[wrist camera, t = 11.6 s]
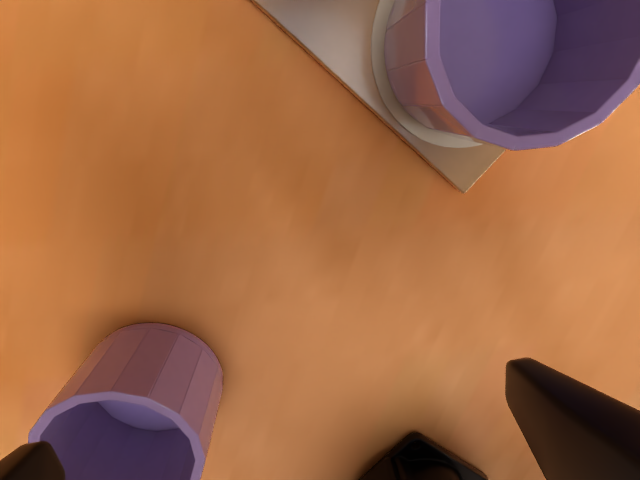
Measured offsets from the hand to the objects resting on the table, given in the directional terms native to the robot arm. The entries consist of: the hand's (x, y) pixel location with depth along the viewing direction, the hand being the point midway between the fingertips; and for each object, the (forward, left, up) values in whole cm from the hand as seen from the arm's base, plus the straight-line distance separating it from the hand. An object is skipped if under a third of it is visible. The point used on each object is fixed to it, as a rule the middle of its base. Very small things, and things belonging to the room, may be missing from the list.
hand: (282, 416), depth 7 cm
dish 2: (0, -10, -9) cm, 14 cm away
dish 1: (+1, +10, -10) cm, 14 cm away
